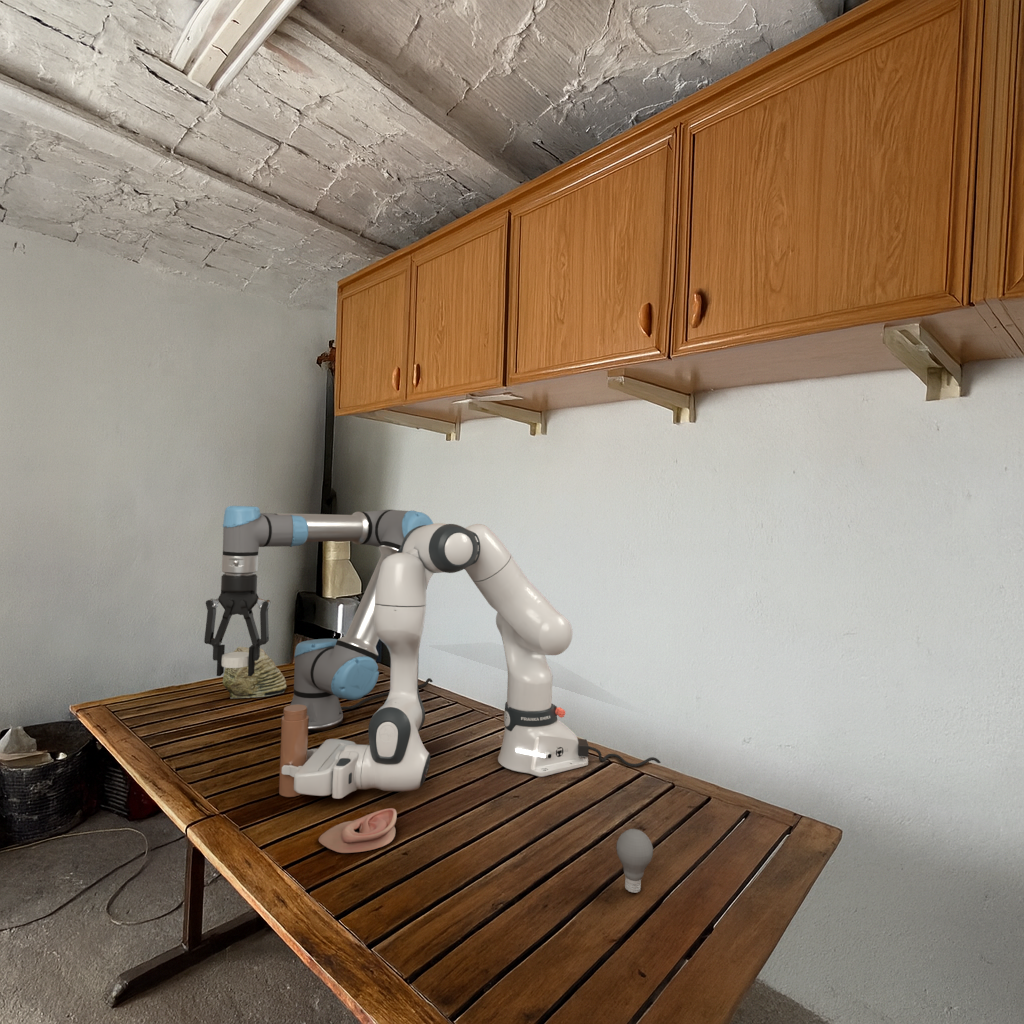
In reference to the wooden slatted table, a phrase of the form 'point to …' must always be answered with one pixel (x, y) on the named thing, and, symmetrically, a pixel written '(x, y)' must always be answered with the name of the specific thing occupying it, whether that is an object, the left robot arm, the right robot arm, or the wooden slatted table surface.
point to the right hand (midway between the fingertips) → (289, 762)
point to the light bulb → (634, 857)
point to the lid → (235, 659)
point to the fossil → (254, 678)
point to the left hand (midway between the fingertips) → (235, 674)
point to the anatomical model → (362, 833)
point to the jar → (293, 745)
